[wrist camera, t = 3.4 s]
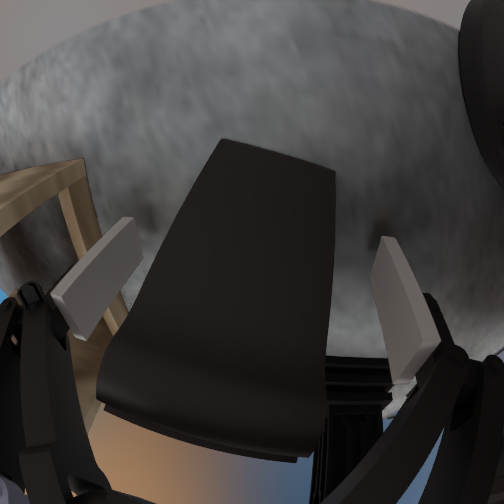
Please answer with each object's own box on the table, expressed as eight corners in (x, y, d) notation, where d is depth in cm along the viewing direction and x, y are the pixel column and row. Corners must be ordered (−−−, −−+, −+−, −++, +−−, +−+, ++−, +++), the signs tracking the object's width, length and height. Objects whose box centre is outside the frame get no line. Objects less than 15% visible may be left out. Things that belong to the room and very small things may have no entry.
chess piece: (366, 397, 26) (363, 559, 9) (298, 394, 26) (276, 566, 10) (397, 358, 21) (408, 566, 5) (315, 354, 22) (293, 585, 5)
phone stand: (223, 137, 13) (45, 301, 3) (335, 170, 13) (407, 400, 3) (198, 269, 18) (123, 438, 8) (283, 294, 18) (260, 476, 9)
